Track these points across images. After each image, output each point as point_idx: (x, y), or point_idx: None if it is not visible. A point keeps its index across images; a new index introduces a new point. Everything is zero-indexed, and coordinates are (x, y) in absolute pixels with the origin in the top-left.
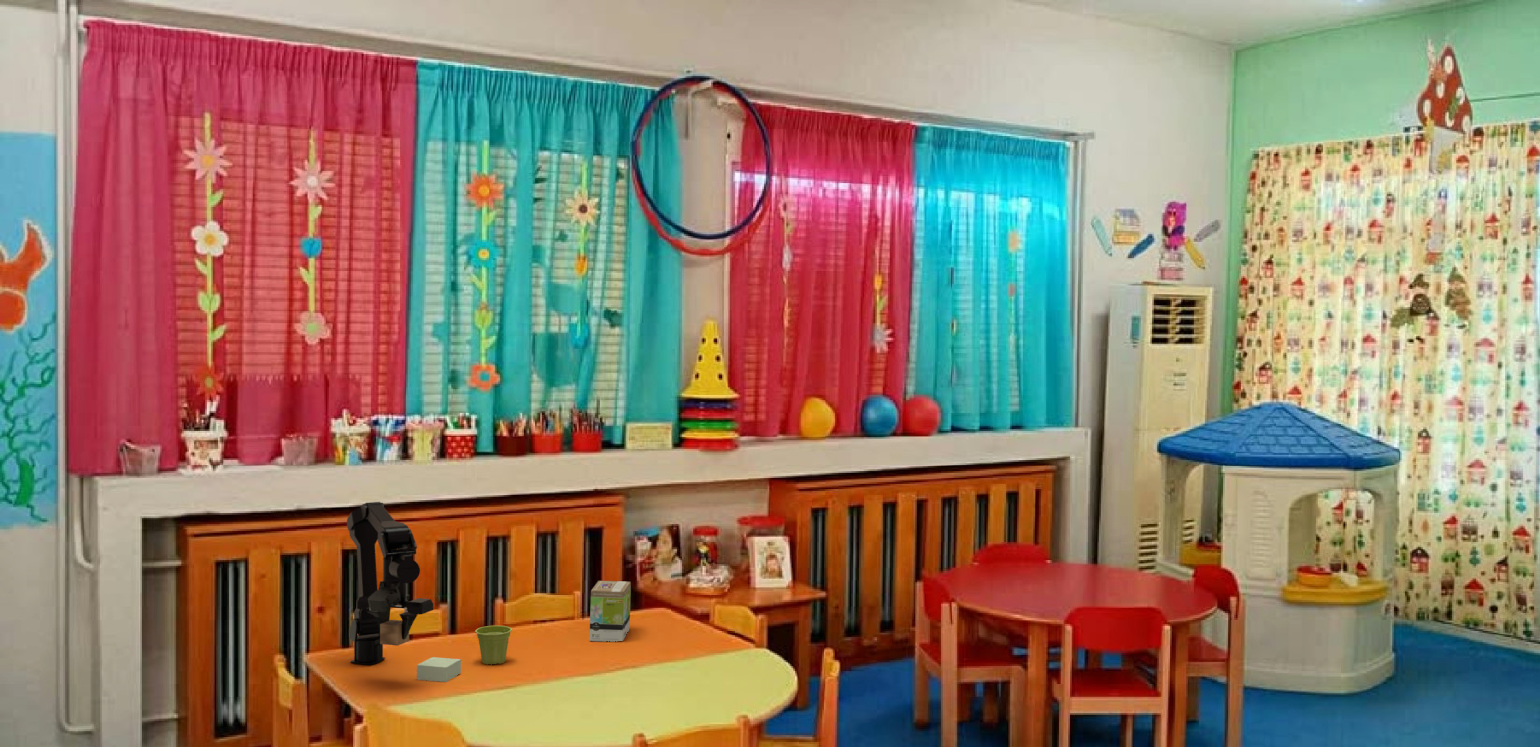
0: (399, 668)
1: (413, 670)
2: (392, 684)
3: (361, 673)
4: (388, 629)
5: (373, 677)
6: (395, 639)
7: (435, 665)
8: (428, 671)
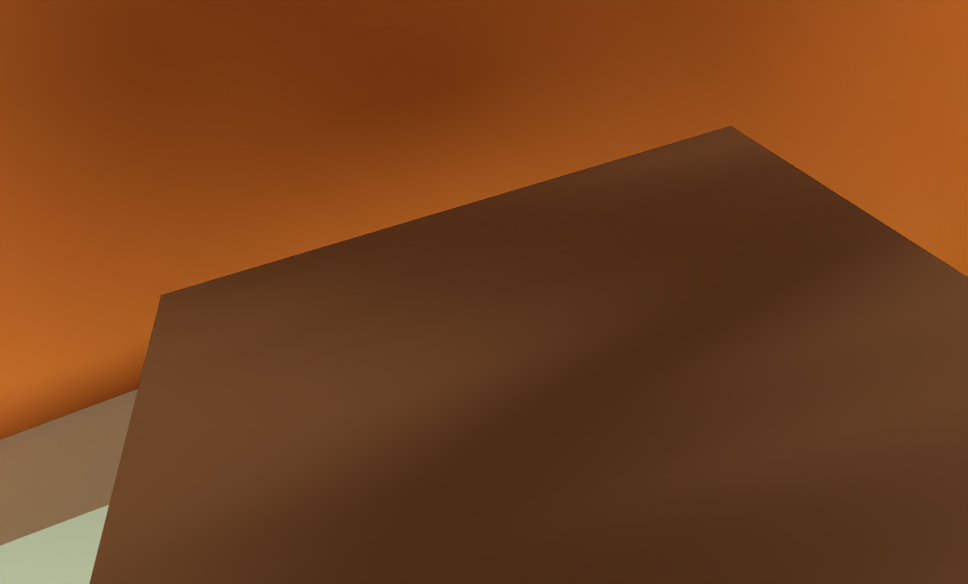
0: None
1: None
2: (327, 44)
3: (951, 141)
4: (630, 515)
5: (743, 115)
6: (229, 374)
7: (31, 579)
8: (95, 466)
